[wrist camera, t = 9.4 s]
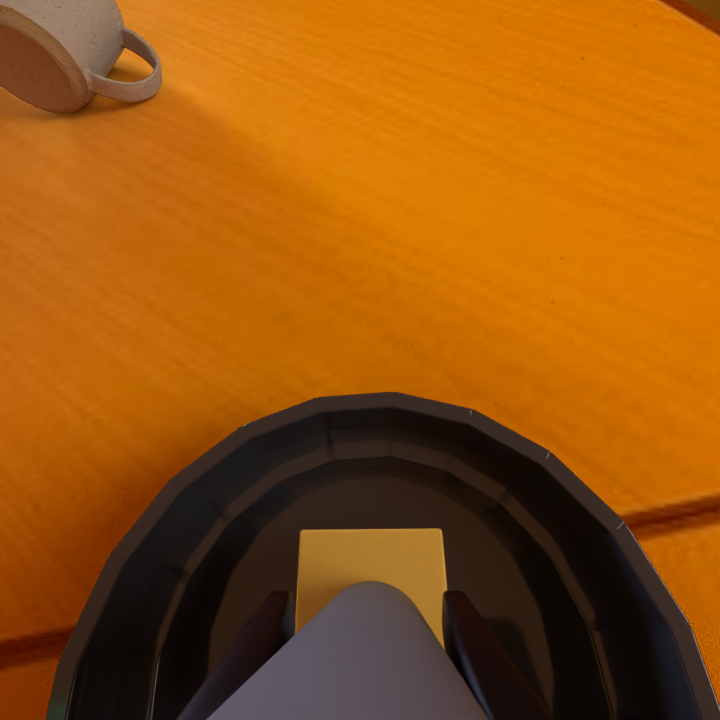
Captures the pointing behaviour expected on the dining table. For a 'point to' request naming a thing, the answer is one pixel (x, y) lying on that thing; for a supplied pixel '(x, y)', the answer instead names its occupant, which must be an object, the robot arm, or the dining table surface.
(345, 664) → the peg on base
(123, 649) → the bowl
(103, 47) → the ceramic mug
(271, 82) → the dining table surface
